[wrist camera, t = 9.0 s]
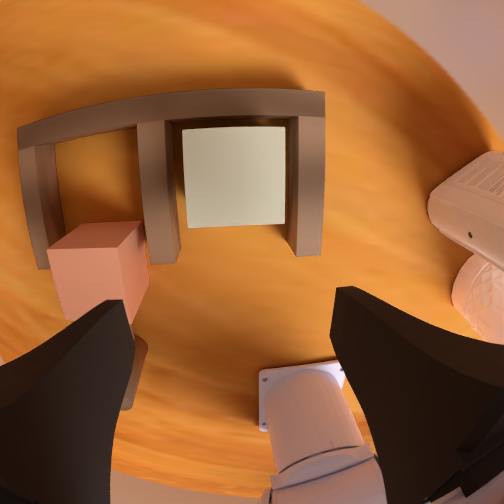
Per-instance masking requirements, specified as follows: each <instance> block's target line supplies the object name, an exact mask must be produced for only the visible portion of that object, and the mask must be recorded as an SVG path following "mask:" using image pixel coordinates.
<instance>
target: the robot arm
mask: <svg viewBox="0 0 504 504" xmlns="http://www.w3.org/2000/svg"><path fill="white" fill-rule="evenodd" d="M330 339H331V342H332V345H333V348H334V351H335V354H336V357H337V359H338V360H333V361H327V362H320V363H313V364H306V365H298V366H290V367H281V368H272V369H263V370H261V371H260V372H259V430H260V431H269V435H270V441H271V446H272V452H273V457H274V463H275V468H276V474H277V475H274V476H271V477H270V478H271V484H272V487H271V488H267V489H265V490H264V492H263V493H262V496H261V497H260V499H259V501H258V504H504V345H501V344H495V343H490V342H485V341H480V340H476V339H473V338H469V337H465V336H462V335H458V334H455V333H452V332H449V331H447V330H444V329H441V328H439V327H436V326H434V325H431V324H429V323H426V322H424V321H422V320H420V319H418V318H416V317H413V316H411V315H409V314H407V313H405V312H403V311H401V310H399V309H397V308H396V307H394V306H392V305H390V304H388V303H386V302H384V301H382V300H380V299H379V298H377V297H375V296H373V295H371V294H369V293H367V292H365V291H363V290H361V289H359V288H357V287H354V286H347V287H337V288H336V295H335V302H334V309H333V316H332V323H331V329H330ZM135 349H136V346H135V342H134V339H133V336H132V332H131V329H130V325H129V322H128V318H127V314H126V310H125V307H124V303H123V299H114V300H105V301H103V302H102V303H100V304H98V305H97V306H95V307H94V308H92V309H91V310H90V311H88V312H87V313H85V314H84V315H83V316H81V317H80V318H79V319H77V320H76V321H74V322H73V323H72V324H70V325H69V326H68V327H66V328H65V329H63V330H62V331H60V332H59V333H57V334H56V335H55V336H53V337H52V338H50V339H49V340H47V341H46V342H44V343H43V344H41V345H40V346H38V347H36V348H35V349H33V350H31V351H30V352H28V353H26V354H24V355H22V356H21V357H19V358H17V359H15V360H13V361H11V362H8V363H6V364H4V365H2V366H0V504H110V471H111V456H112V447H113V439H114V432H115V427H116V423H117V419H118V416H119V412H120V409H121V405H122V402H123V399H124V395H125V392H126V389H127V385H128V382H129V379H130V375H131V372H132V367H133V362H134V355H135ZM345 376H346V377H347V379H348V381H349V383H350V385H351V387H352V389H353V391H354V393H355V395H356V397H357V399H358V401H359V403H360V405H361V408H362V410H363V412H364V415H365V417H366V420H367V423H368V426H369V429H370V432H371V435H372V438H373V442H374V445H375V448H376V452H375V453H374V455H373V453H372V451H371V448H370V446H369V444H365V442H364V440H363V438H362V435H361V433H360V431H359V428H358V426H357V424H356V421H355V419H354V417H353V415H352V412H351V410H350V408H349V406H348V403H347V401H346V399H345V396H344V394H343V392H342V386H343V383H344V379H345ZM263 378H265V379H263Z"/></svg>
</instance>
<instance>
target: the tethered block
mask: <svg viewBox="0 0 504 504" xmlns="http://www.w3.org/2000/svg"><path fill="white" fill-rule="evenodd" d="M47 254H48V259H49V263H50V267H51V272H52V276H53V279H54V283H55V287H56V291H57V294H58V298H59V301H60V304H61V308H62V311H63V314H64V317H65V320H69V321H76V320H77V319H79V318H80V317H81V316H83V315H84V314H85V313H87V312H88V311H90V310H91V309H92V308H94V307H95V306H97V305H98V304H100V303H102V302H103V301H105V300H114V299H123V303H124V307H125V310H126V314H127V318H128V322H129V325H130V329H131V332H132V336H133V339H134V342H135V346H136V349H135V355H134V362H133V367H132V372H131V375H130V379H129V382H128V385H127V389H126V392H125V395H124V399H123V402H122V405H121V409H120V410H129V409H131V408H132V406H133V402H134V398H135V394H136V390H137V386H138V382H139V378H140V375H141V371H142V367H143V364H144V360H145V357H146V353H147V349H148V347H147V344H146V343H145V341H144V340H143V339H141V338H140V337H138V336H134V334H133V330H132V326H131V324H132V323H133V320H134V318H135V316H136V313H137V311H138V309H139V306H140V304H141V302H142V299H143V297H144V295H145V293H146V290H147V288H148V286H149V284H150V281H149V274H148V266H147V259H146V250H145V241H144V231H143V221H142V220H140V221H118V222H99V223H83V224H81V225H80V226H78V227H77V228H76V229H74V230H73V231H71V232H70V233H68V234H67V235H66V236H64V237H63V238H61V239H60V240H59V241H57V242H56V243H55V244H53V245H52V246H51V247H49V248H48V249H47Z"/></svg>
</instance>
